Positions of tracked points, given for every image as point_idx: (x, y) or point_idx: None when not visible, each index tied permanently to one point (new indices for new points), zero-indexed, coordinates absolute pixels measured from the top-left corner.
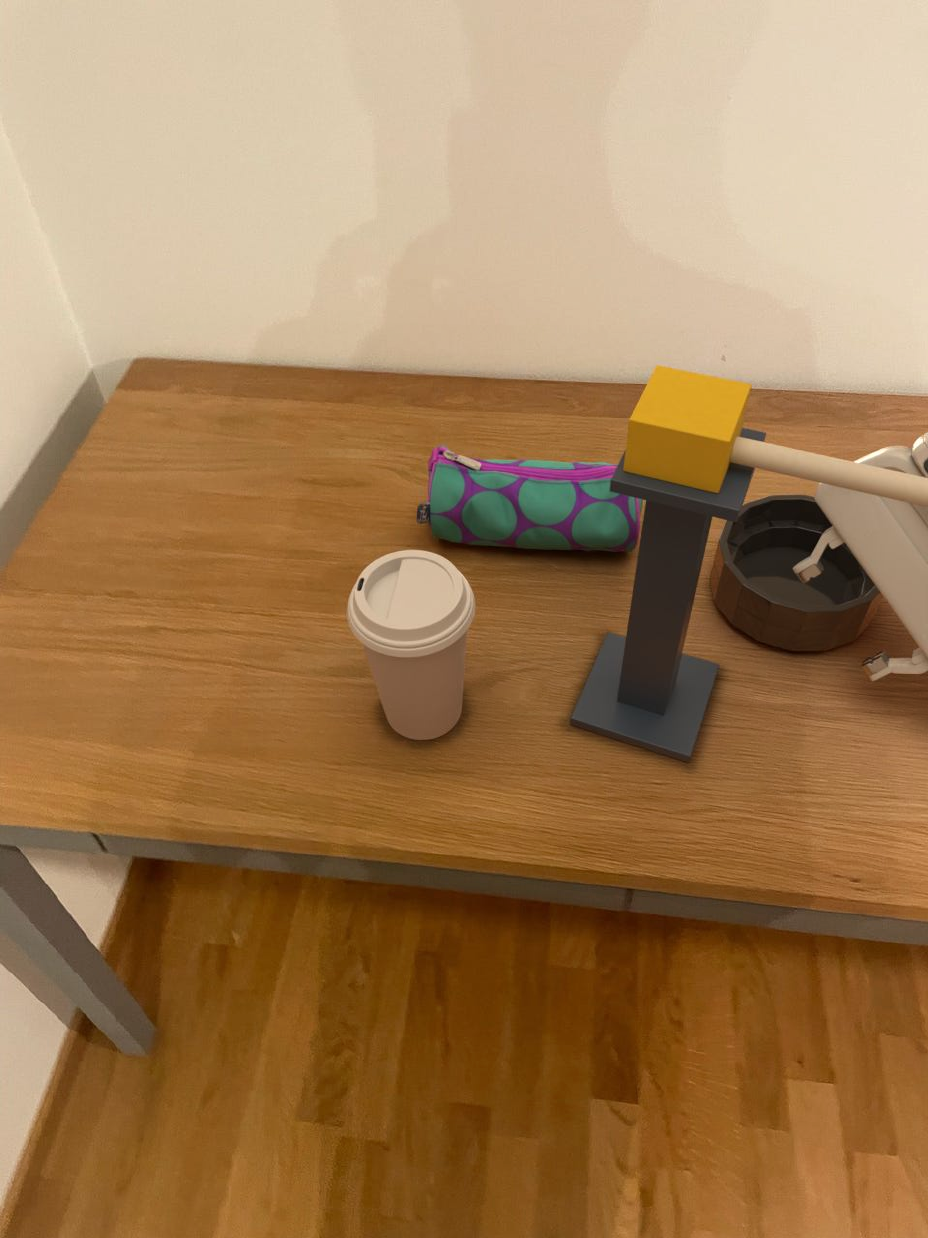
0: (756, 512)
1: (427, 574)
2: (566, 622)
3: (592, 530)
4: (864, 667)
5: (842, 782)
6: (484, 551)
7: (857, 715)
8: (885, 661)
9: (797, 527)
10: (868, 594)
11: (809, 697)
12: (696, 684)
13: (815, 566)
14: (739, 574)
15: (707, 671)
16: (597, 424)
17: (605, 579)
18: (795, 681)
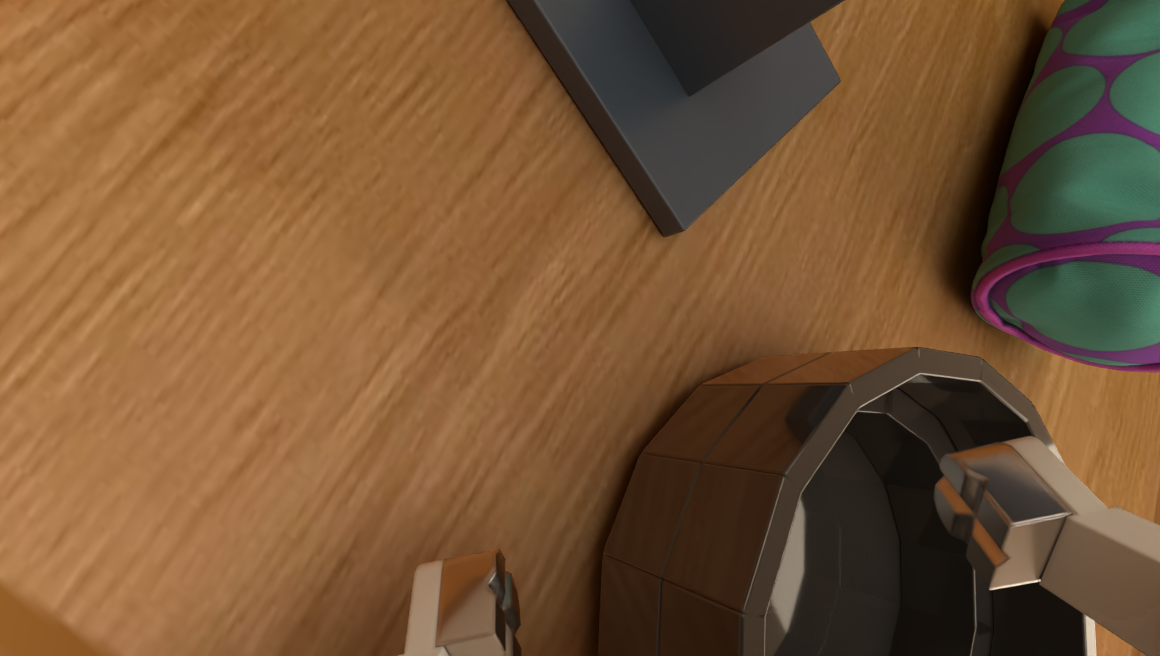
0: (1047, 590)
1: None
2: (871, 59)
3: (1083, 166)
4: (487, 553)
5: (140, 264)
6: (1016, 70)
7: (357, 508)
8: (466, 650)
9: None
10: None
11: (489, 407)
12: (658, 128)
13: (1053, 513)
14: (945, 366)
15: (679, 184)
16: (1152, 457)
17: (923, 209)
18: (553, 407)
